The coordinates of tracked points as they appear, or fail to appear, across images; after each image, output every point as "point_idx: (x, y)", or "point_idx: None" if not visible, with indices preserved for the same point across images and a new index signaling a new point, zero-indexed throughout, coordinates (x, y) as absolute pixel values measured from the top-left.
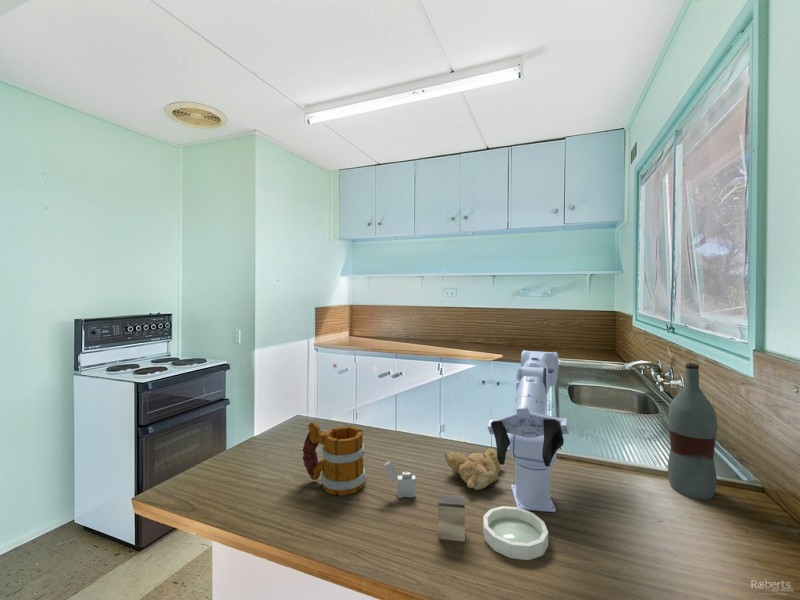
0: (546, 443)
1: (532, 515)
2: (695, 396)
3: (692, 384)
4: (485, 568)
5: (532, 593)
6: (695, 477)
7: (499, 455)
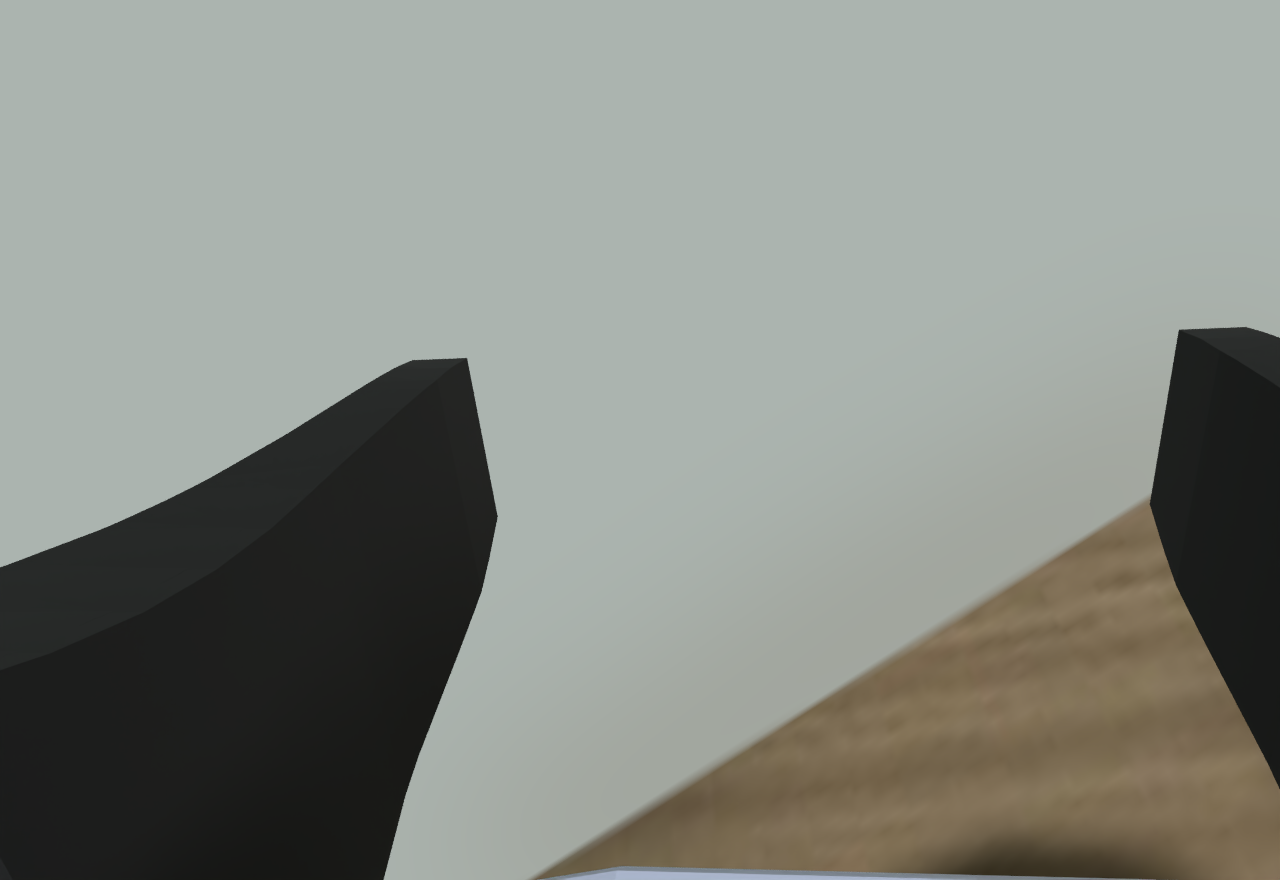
0: (309, 446)
1: None
2: None
3: None
4: (1186, 717)
5: (848, 683)
6: None
7: (1208, 333)
